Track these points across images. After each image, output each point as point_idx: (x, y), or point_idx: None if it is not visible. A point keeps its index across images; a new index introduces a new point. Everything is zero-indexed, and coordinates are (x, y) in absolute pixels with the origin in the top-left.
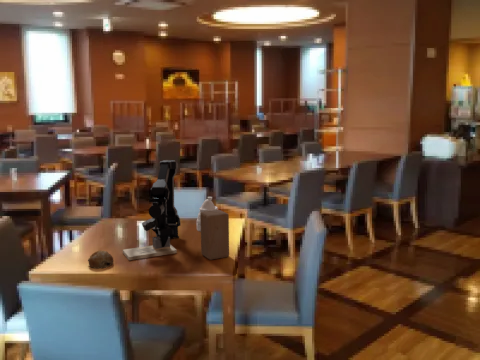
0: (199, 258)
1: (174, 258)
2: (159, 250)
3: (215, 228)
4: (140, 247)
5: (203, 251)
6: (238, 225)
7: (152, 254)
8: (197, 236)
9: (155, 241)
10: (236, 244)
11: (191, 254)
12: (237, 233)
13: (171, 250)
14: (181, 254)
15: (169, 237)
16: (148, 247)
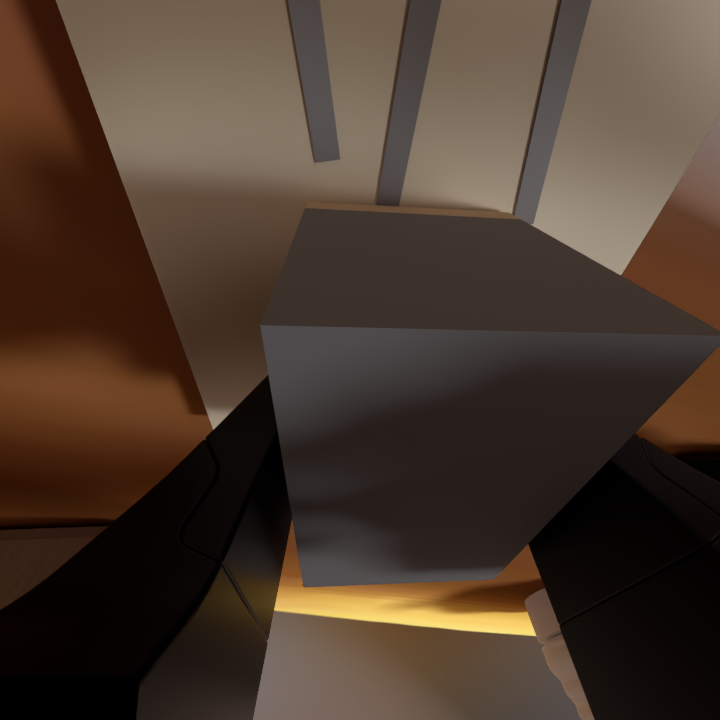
0: (17, 497)
1: (2, 348)
2: (272, 266)
3: None
4: None
5: (41, 567)
6: (515, 631)
7: (79, 13)
8: (529, 560)
9: (276, 289)
10: (279, 610)
11: (149, 483)
12: (427, 623)
13: (210, 403)
14: (167, 434)
15: (308, 584)
16: (605, 124)
